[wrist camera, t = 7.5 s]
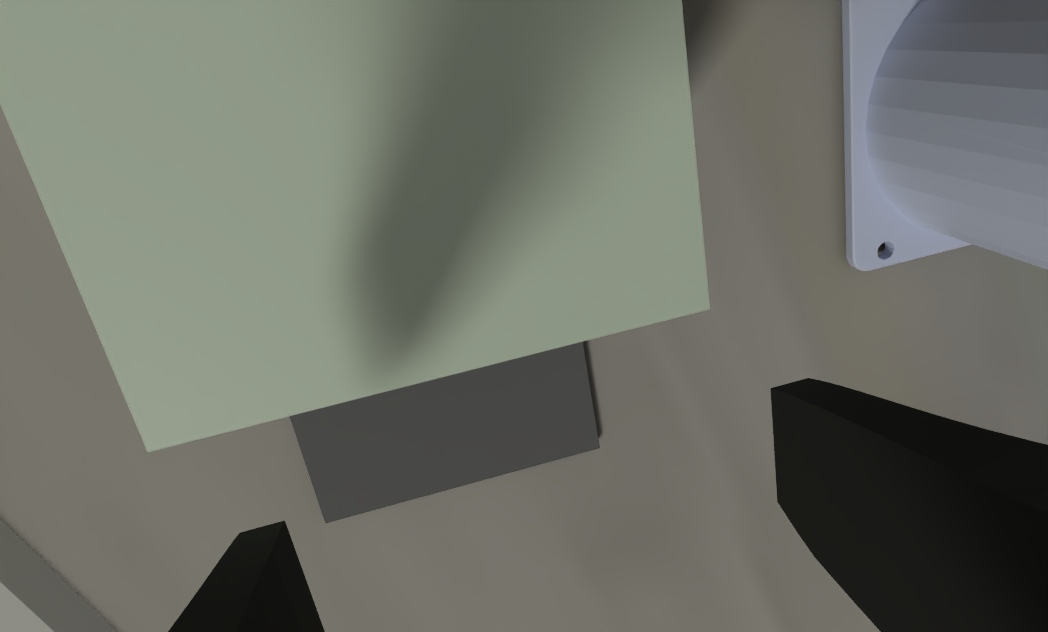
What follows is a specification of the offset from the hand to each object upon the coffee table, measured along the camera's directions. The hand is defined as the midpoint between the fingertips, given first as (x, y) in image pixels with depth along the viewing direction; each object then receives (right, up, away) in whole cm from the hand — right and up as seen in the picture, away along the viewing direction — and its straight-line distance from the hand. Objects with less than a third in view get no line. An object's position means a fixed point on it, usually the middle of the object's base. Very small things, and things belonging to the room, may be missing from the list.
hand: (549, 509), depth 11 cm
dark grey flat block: (-3, 0, +10) cm, 10 cm away
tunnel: (-4, +9, +7) cm, 12 cm away
